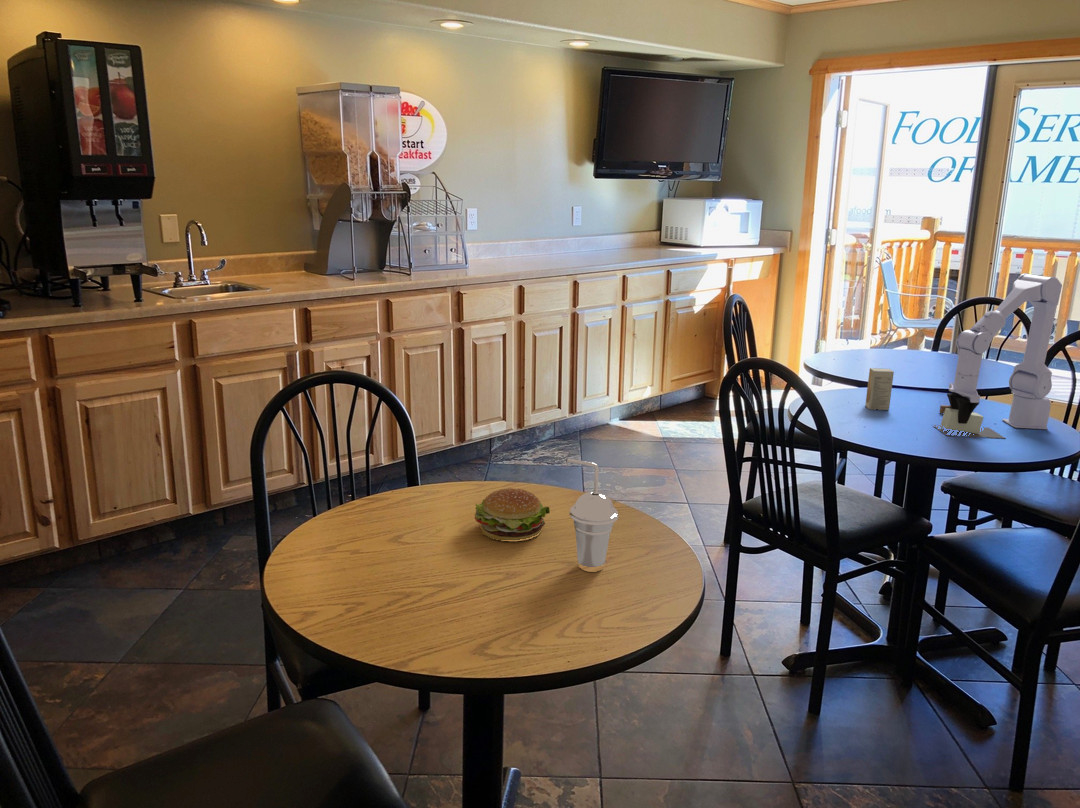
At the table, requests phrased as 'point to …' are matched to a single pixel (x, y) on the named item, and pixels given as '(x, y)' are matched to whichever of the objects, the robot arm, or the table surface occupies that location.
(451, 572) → the table surface
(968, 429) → the block
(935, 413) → the table surface
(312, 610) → the table surface
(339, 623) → the table surface
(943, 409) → the frame
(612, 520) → the cup with straw
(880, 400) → the skincare box
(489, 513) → the food
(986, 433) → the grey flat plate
